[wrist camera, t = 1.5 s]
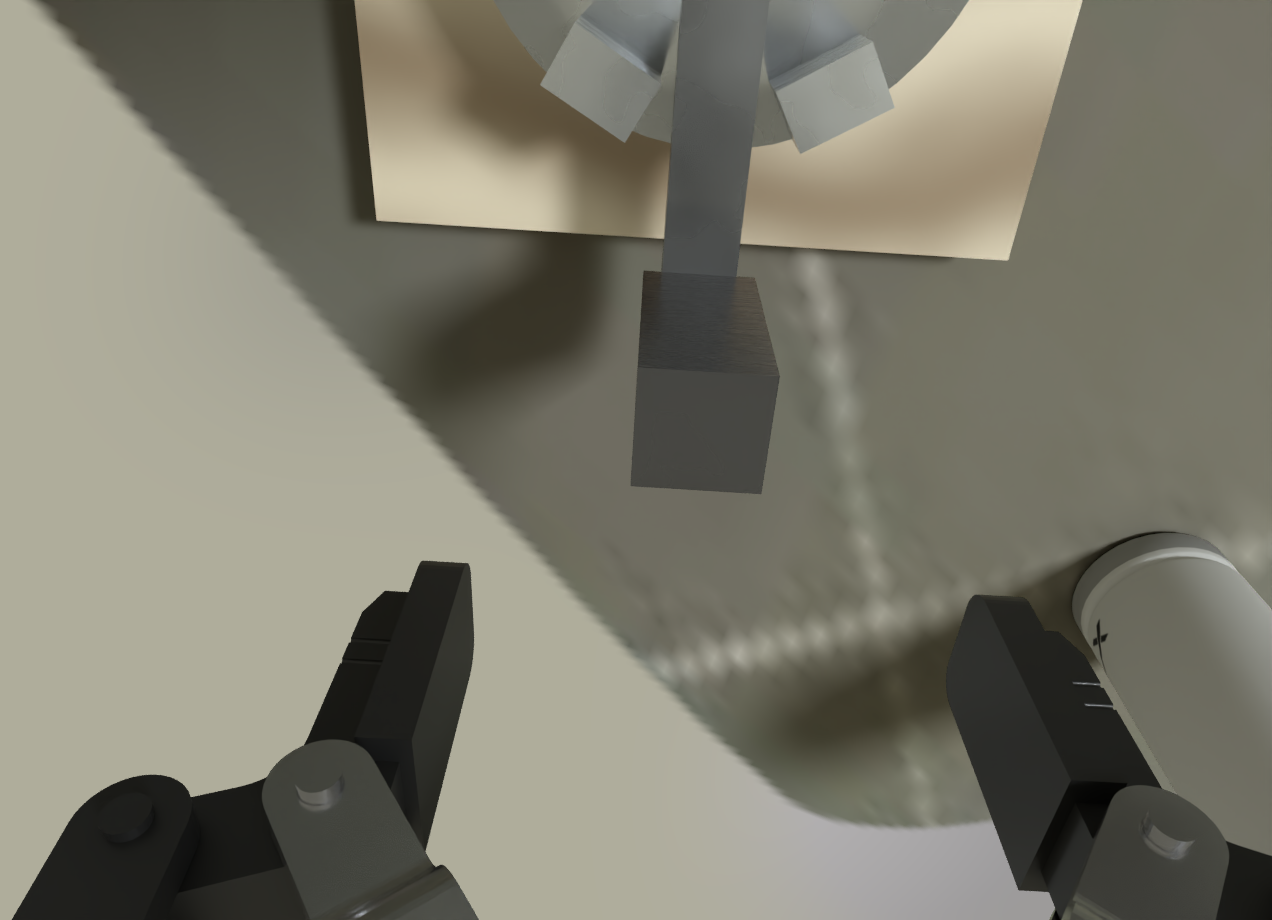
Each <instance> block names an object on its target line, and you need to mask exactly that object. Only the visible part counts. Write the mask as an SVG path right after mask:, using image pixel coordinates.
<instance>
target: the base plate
mask: <svg viewBox="0 0 1272 920" xmlns="http://www.w3.org/2000/svg"><path fill="white" fill-rule="evenodd" d="M1081 4H1082V0H969V1H968V3H967V4H966V5H965V7H964V8H963V10H962V11H961V13H960V14H959V16H958V17H957V19H956V20H955V22H954V23H953V24H952V26H951V27H950V28H949V29H948V31H947V32H946V33H945V34H944V35H943V36H942V38H941V39H940V40H939V41H938V42H937V44H936V45H935V46H934V47H933V48H932V49H931V51H930V52H929V53H928V54H927V55H926V56H925V57H924V58H923V59H922V60H921V61H920V62H919V63H918V64H917V65H916V66H915V67H914V68H913V69H912V70H910V71H909V72H908V73H907V74H906V75H905V76H904V77H903V78H902V79H901V80H900V81H899V82H898V83H896V84H895V85H894V86H892V87H891V88H890V89H889V92H890V95H891V98H892V101H893V104H894V107H895V108H893V109H891V110H889V111H887V112H885V113H883V114H881V115H879V116H877V117H875V118H873V119H871V120H869V121H867V122H865V123H863V124H861V125H859V126H857V127H855V128H853V129H850V130H848V131H846V132H844V133H842V134H840V135H838V136H836V137H834V138H832V139H830V140H828V141H826V142H824V143H822V144H820V145H818V146H816V147H814V148H812V149H810V150H808V151H806V152H804V153H802V154H800V153H799V151H798V149H797V148H796V146H795V144H794V142H793V141H792V139H791V140H787V141H784V142H780V143H777V144H773V145H766V146H759V147H752V150H751V158H750V167H749V175H748V183H747V191H746V200H745V208H744V216H743V225H742V233H741V241H740V244H755V245H770V246H786V247H802V248H818V249H834V250H850V251H865V252H881V253H897V254H913V255H929V256H945V257H960V258H976V259H992V260H1008V258H1009V255H1010V251H1011V248H1012V244H1013V241H1014V237H1015V234H1016V230H1017V227H1018V223H1019V220H1020V216H1021V213H1022V209H1023V206H1024V202H1025V199H1026V195H1027V192H1028V189H1029V185H1030V182H1031V178H1032V175H1033V171H1034V168H1035V164H1036V161H1037V157H1038V154H1039V150H1040V147H1041V143H1042V140H1043V136H1044V133H1045V129H1046V126H1047V122H1048V119H1049V115H1050V112H1051V108H1052V105H1053V101H1054V98H1055V94H1056V91H1057V87H1058V84H1059V80H1060V77H1061V73H1062V70H1063V66H1064V63H1065V59H1066V56H1067V53H1068V49H1069V46H1070V42H1071V39H1072V35H1073V32H1074V28H1075V25H1076V21H1077V18H1078V14H1079V11H1080V7H1081ZM355 10H356V20H357V30H358V40H359V50H360V60H361V70H362V80H363V90H364V100H365V110H366V120H367V130H368V140H369V150H370V160H371V170H372V180H373V190H374V200H375V209H376V219H377V221H390V222H406V223H422V224H438V225H454V226H470V227H485V228H501V229H517V230H533V231H549V232H565V233H580V234H596V235H612V236H628V237H644V238H660V239H664V227H665V213H666V200H667V186H668V172H669V159H670V145H671V143H668V142H664V141H660V140H657V139H653V138H650V137H646V136H643V135H641V134H639V133H636V132H634V131H632V132H631V134H630V135H629V137H628V138H627V140H626V142H625V143H624V142H623V141H621V140H620V139H618V138H617V137H615V136H614V135H612V134H611V133H609V132H608V131H607V130H605V129H604V128H602V127H601V126H599V125H598V124H596V123H595V122H593V121H592V120H590V119H589V118H588V117H586V116H585V115H583V114H582V113H580V112H579V111H577V110H576V109H574V108H573V107H571V106H570V105H569V104H567V103H566V102H564V101H563V100H561V99H560V98H558V97H557V96H555V95H554V94H552V93H551V92H550V91H548V90H547V89H545V88H544V87H542V86H541V85H540V84H541V82H542V80H543V79H544V77H545V75H546V73H547V72H546V71H545V70H544V69H543V68H542V67H541V66H540V65H539V64H538V63H537V62H536V61H535V60H534V59H533V58H532V57H531V55H530V54H529V53H528V51H527V50H526V49H525V47H524V46H523V45H522V44H521V42H520V41H519V40H518V38H517V37H516V36H515V34H514V33H513V32H512V31H511V29H510V28H509V26H508V24H507V23H506V21H505V19H504V17H503V16H502V14H501V12H500V11H499V9H498V7H497V6H496V4H495V2H494V1H493V0H355Z"/></svg>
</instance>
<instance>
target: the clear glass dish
mask: <svg viewBox="0 0 1272 920" xmlns="http://www.w3.org/2000/svg"><path fill="white" fill-rule="evenodd" d="M493 1H494V2H495V4H496V6H497V7H498V9H499V11H500V12H501V14H502V16H503V17H504V19H505V21H506V23H507V24H508V26H509V28H510V29H511V31H512V32H513V33H514V34H515V36H516V37H517V38H518V40H519V41H520V42H521V44H522V45H523V46H524V47H525V49H526V50H527V51H528V53H529V54H530V55H531V57H532V58H533V59H534V60H535V61H536V62H537V63H538V64H539V65H540V66H541V67H542V68H543V69H544V70H545V71H546V72H547V73H546V75H545V77H544V79H543V80H542V82H541V84H540V85H541V86H542V87H544V88H545V89H547V90H548V91H550V92H551V93H552V94H554V95H555V96H557V97H558V98H560V99H561V100H563V101H564V102H566V103H567V104H569V105H570V106H571V107H573V108H574V109H576V110H577V111H579V112H580V113H582V114H583V115H585V116H586V117H588V118H589V119H590V120H592V121H593V122H595V123H596V124H598V125H599V126H601V127H602V128H604V129H605V130H607V131H608V132H609V133H611V134H612V135H614V136H615V137H617V138H618V139H620V140H621V141H623V142H624V143H625V142H626V140H627V138H628V137H629V135H630V134H631V132H632V131H634V132H636V133H639V134H641V135H643V136H646V137H650V138H653V139H657V140H660V141H664V142H668V143H671V145H670V159H669V172H668V186H667V200H666V213H665V227H664V241H663V254H662V268H661V272H655V271H644V274H643V290H642V306H641V322H640V338H639V354H638V370H637V386H636V403H635V420H634V437H633V454H632V471H631V486H638V487H655V488H671V489H687V490H703V491H720V492H736V493H752V494H761V492H762V486H763V480H764V473H765V467H766V461H767V454H768V448H769V441H770V435H771V429H772V422H773V416H774V410H775V403H776V397H777V391H778V384H779V378H780V375H779V371H778V367H777V364H776V360H775V356H774V352H773V348H772V344H771V340H770V336H769V332H768V328H767V324H766V320H765V316H764V312H763V308H762V304H761V300H760V297H759V293H758V289H757V285H756V281H755V278H750V277H736V275H737V266H738V258H739V250H740V241H741V233H742V225H743V216H744V208H745V200H746V191H747V183H748V175H749V167H750V158H751V150H752V147H759V146H766V145H773V144H777V143H780V142H784V141H787V140H791V139H792V141H793V142H794V144H795V146H796V148H797V149H798V151H799V153H800V154H802V153H804V152H806V151H808V150H810V149H812V148H814V147H816V146H818V145H820V144H822V143H824V142H826V141H828V140H830V139H832V138H834V137H836V136H838V135H840V134H842V133H844V132H846V131H848V130H850V129H853V128H855V127H857V126H859V125H861V124H863V123H865V122H867V121H869V120H871V119H873V118H875V117H877V116H879V115H881V114H883V113H885V112H887V111H889V110H891V109H893V108H895V107H894V104H893V101H892V98H891V95H890V92H889V89H890V88H891V87H892V86H894V85H895V84H896V83H898V82H899V81H900V80H901V79H902V78H903V77H904V76H905V75H906V74H907V73H908V72H909V71H910V70H912V69H913V68H914V67H915V66H916V65H917V64H918V63H919V62H920V61H921V60H922V59H923V58H924V57H925V56H926V55H927V54H928V53H929V52H930V51H931V49H932V48H933V47H934V46H935V45H936V44H937V42H938V41H939V40H940V39H941V38H942V36H943V35H944V34H945V33H946V32H947V31H948V29H949V28H950V27H951V26H952V24H953V23H954V22H955V20H956V19H957V17H958V16H959V14H960V13H961V11H962V10H963V8H964V7H965V5H966V4H967V3H968V1H969V0H493Z"/></svg>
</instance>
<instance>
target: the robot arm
mask: <svg viewBox="0 0 1272 920" xmlns="http://www.w3.org/2000/svg"><path fill="white" fill-rule="evenodd" d="M473 648H474V626H473V607H472V589H471V572H470V566H469V564H468V563H454V562H437V561H421V563H420V564H419V566H418V569H417V572H416V574H415V577H414V579H413V582H412V585H411V587H410V590H409V592H395V591H384V592H383V593H382V594H381V595H380V596H379V597H378V598H377V599H376V600H375V601H374V602H373V603H372V604H371V605H370V606H368V607H367V608H366V609H365V610H364V611H363V612H362V614H361V616H360V619H359V621H358V623H357V626H356V628H355V630H354V632H353V635H352V637H351V643H349V644H348V646H347V648H346V651H345V653H344V655H343V658H342V664H341V663H340V665H339V667H338V669H337V672H336V674H335V676H334V679H333V681H332V683H331V686H330V688H329V690H328V692H327V695H326V697H325V699H324V702H323V704H322V706H321V709H320V711H319V713H318V716H317V718H316V720H315V722H314V725H313V727H312V730H311V732H310V734H309V736H308V739H307V740H306V742H305V744H304V746H302V747H300V748H298V749H296V750H294V751H292V752H291V753H289V754H288V755H286V756H285V757H284V758H282V759H281V760H280V761H279V762H278V763H277V764H276V765H275V766H274V767H273V769H272V770H271V771H270V773H269V775H268V776H267V777H266V778H264V779H262V780H260V781H257V782H254V783H252V784H248V785H245V786H241V787H237V788H232V789H228V790H223V791H218V792H214V793H209V794H204V795H200V796H195V797H190V794H189V791H188V790H187V789H186V787H185V786H184V785H183V784H182V783H180V782H179V781H177V780H175V779H173V778H171V777H167V776H162V775H142V776H137V777H132V778H129V779H125V780H122V781H120V782H117V783H115V784H113V785H111V786H109V787H107V788H105V789H103V790H102V791H100V792H98V793H97V794H96V795H94V796H93V797H91V798H90V799H89V800H88V801H87V802H86V803H84V804H83V805H82V806H81V807H80V808H79V810H78V811H77V812H76V813H75V814H74V815H73V817H72V818H71V820H70V821H69V823H68V825H67V826H66V828H65V830H64V832H63V833H62V835H61V837H60V838H59V840H58V842H57V843H56V845H55V847H54V848H53V850H52V852H51V854H50V855H49V857H48V859H47V860H46V862H45V864H44V866H43V867H42V869H41V871H40V872H39V874H38V876H37V878H36V879H35V881H34V883H33V884H32V886H31V888H30V890H29V891H28V893H27V895H26V897H25V898H24V900H23V901H22V903H21V905H20V907H19V908H18V910H17V912H16V913H15V915H14V917H13V919H12V920H479V919H478V918H477V916H476V914H475V912H474V910H473V909H472V907H471V905H470V904H469V902H468V900H467V898H466V897H465V895H464V893H463V892H462V890H461V888H460V886H459V885H458V883H457V882H456V880H455V878H454V877H453V875H452V874H451V873H450V871H449V870H448V869H447V868H446V867H445V866H444V865H439V866H437V867H435V866H434V865H433V864H432V862H431V861H430V859H429V858H428V856H427V854H426V852H425V851H426V847H427V843H428V839H429V835H430V831H431V827H432V823H433V819H434V815H435V812H436V807H437V804H438V800H439V796H440V792H441V788H442V784H443V780H444V776H445V772H446V768H447V764H448V760H449V756H450V752H451V748H452V744H453V740H454V736H455V732H456V728H457V724H458V720H459V717H460V713H461V709H462V704H463V701H464V696H465V693H466V689H467V685H468V681H469V677H470V672H471V667H472V660H473V650H474V649H473ZM946 688H947V696H948V701H949V704H950V707H951V710H952V713H953V715H954V718H955V721H956V723H957V726H958V729H959V731H960V734H961V737H962V739H963V742H964V745H965V747H966V750H967V753H968V756H969V758H970V761H971V764H972V766H973V769H974V772H975V774H976V777H977V780H978V782H979V785H980V788H981V790H982V793H983V796H984V799H985V801H986V804H987V807H988V809H989V812H990V815H991V817H992V820H993V823H994V825H995V828H996V830H997V833H998V836H999V839H1000V842H1001V844H1002V847H1003V850H1004V852H1005V855H1006V858H1007V860H1008V863H1009V865H1010V868H1011V871H1012V874H1013V876H1014V879H1015V882H1016V885H1017V887H1018V890H1024V891H1042V892H1049V893H1050V896H1051V898H1052V901H1053V903H1054V906H1055V910H1054V911H1053V913H1052V915H1051V917H1050V920H1272V856H1270V855H1267V854H1264V853H1261V852H1258V851H1254V850H1251V849H1248V848H1245V847H1242V846H1239V845H1236V844H1233V843H1231V842H1228V841H1225V838H1224V837H1223V835H1222V833H1221V831H1220V830H1219V829H1218V827H1217V826H1216V825H1215V823H1214V822H1213V821H1212V820H1211V819H1210V818H1209V817H1208V816H1207V815H1206V814H1205V813H1204V812H1202V811H1201V810H1200V809H1199V808H1198V807H1196V806H1195V805H1193V804H1192V803H1190V802H1189V801H1187V800H1186V799H1184V798H1182V797H1180V796H1178V795H1176V794H1174V793H1172V792H1170V791H1167V790H1164V789H1162V788H1161V786H1160V784H1159V782H1158V781H1157V779H1156V777H1155V776H1154V774H1153V772H1152V770H1151V769H1150V767H1149V765H1148V764H1147V762H1146V760H1145V758H1144V757H1143V755H1142V753H1141V751H1140V750H1139V748H1138V746H1137V745H1136V743H1135V741H1134V739H1133V738H1132V736H1131V734H1130V733H1129V731H1128V729H1127V727H1126V726H1125V724H1124V722H1123V721H1122V719H1121V717H1120V715H1119V714H1118V712H1117V710H1113V703H1112V702H1111V700H1110V698H1109V697H1108V695H1107V693H1106V691H1105V690H1104V688H1101V687H1100V681H1099V679H1098V678H1097V676H1096V674H1095V672H1094V671H1093V669H1092V667H1091V666H1090V664H1089V662H1088V660H1087V659H1086V657H1085V656H1084V655H1083V654H1082V653H1081V652H1080V651H1079V650H1078V649H1077V648H1076V647H1074V646H1073V645H1072V644H1071V643H1070V642H1069V641H1068V640H1067V639H1066V638H1065V637H1063V636H1062V635H1061V634H1060V633H1059V632H1054V631H1044V629H1043V627H1042V625H1041V623H1040V621H1039V620H1038V618H1037V616H1036V614H1035V612H1034V610H1033V609H1032V607H1031V605H1030V603H1029V602H1028V601H1027V600H1026V599H1025V598H1022V597H1008V596H991V595H974V596H973V597H972V598H971V599H970V601H969V603H968V605H967V608H966V611H965V614H964V617H963V620H962V623H961V626H960V630H959V633H958V636H957V639H956V642H955V645H954V648H953V651H952V654H951V657H950V660H949V663H948V667H947V674H946Z"/></svg>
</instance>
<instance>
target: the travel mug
mask: <svg viewBox="0 0 1272 920" xmlns="http://www.w3.org/2000/svg"><path fill="white" fill-rule="evenodd" d="M1072 611H1073V616H1074V619H1075V621H1076V623H1077V625H1078V627H1079V629H1080V630H1081V632H1082V634H1083V636H1084V637H1085V639H1086V641H1087V642H1088V644H1089V646H1090V647H1091V649H1092V650H1093V652H1094V654H1095V656H1096V658H1097V659H1098V661H1099V663H1100V664H1101V666H1102V668H1103V670H1104V671H1105V673H1106V675H1107V676H1108V678H1109V680H1110V682H1111V683H1112V685H1113V687H1114V688H1115V690H1116V692H1117V693H1118V695H1119V697H1120V699H1121V700H1122V702H1123V704H1124V705H1125V707H1126V709H1127V711H1128V712H1129V714H1130V716H1131V717H1132V719H1133V721H1134V722H1135V724H1136V726H1137V728H1138V729H1139V731H1140V733H1141V734H1142V736H1143V738H1144V739H1145V741H1146V743H1147V745H1148V746H1149V748H1150V750H1151V751H1152V753H1153V755H1154V757H1155V758H1156V760H1157V762H1158V763H1159V765H1160V767H1161V768H1162V770H1163V772H1164V774H1165V775H1166V777H1167V779H1168V780H1169V782H1170V784H1171V786H1172V787H1173V789H1174V791H1175V792H1176V794H1177V795H1178V796H1180V797H1182V798H1184V799H1186V800H1187V801H1189V802H1190V803H1192V804H1193V805H1195V806H1196V807H1198V808H1199V809H1200V810H1201V811H1202V812H1204V813H1205V814H1206V815H1207V816H1208V817H1209V818H1210V819H1211V820H1212V821H1213V822H1214V823H1215V825H1216V826H1217V827H1218V829H1219V830H1220V831H1221V833H1222V835H1223V837H1224V838H1225V841H1228V842H1231V843H1233V844H1236V845H1239V846H1242V847H1245V848H1248V849H1251V850H1254V851H1258V852H1261V853H1264V854H1267V855H1270V856H1272V609H1271V608H1270V607H1269V606H1268V605H1267V604H1266V602H1265V601H1264V600H1263V599H1262V598H1261V597H1260V596H1259V594H1258V593H1257V592H1256V591H1255V590H1254V589H1253V588H1252V587H1251V585H1250V584H1249V583H1248V582H1247V581H1246V580H1245V579H1244V577H1243V576H1242V575H1241V574H1240V573H1239V572H1238V571H1237V570H1236V569H1235V567H1234V566H1233V565H1232V564H1231V563H1230V562H1229V560H1228V559H1227V558H1226V557H1225V556H1224V555H1223V554H1222V553H1221V551H1220V550H1219V549H1218V548H1217V547H1215V546H1214V545H1212V544H1211V543H1210V542H1208V541H1206V540H1204V539H1201V538H1199V537H1196V536H1192V535H1187V534H1181V533H1159V534H1151V535H1146V536H1143V537H1139V538H1135V539H1132V540H1130V541H1127V542H1125V543H1123V544H1120V545H1118V546H1116V547H1115V548H1113V549H1111V550H1110V551H1108V552H1106V553H1105V554H1103V555H1102V556H1101V557H1100V558H1099V559H1097V560H1096V561H1095V562H1094V563H1093V564H1092V565H1091V566H1090V567H1089V568H1088V569H1087V570H1086V571H1085V573H1084V574H1083V576H1082V577H1081V579H1080V581H1079V582H1078V584H1077V586H1076V589H1075V592H1074V595H1073V601H1072Z"/></svg>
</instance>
